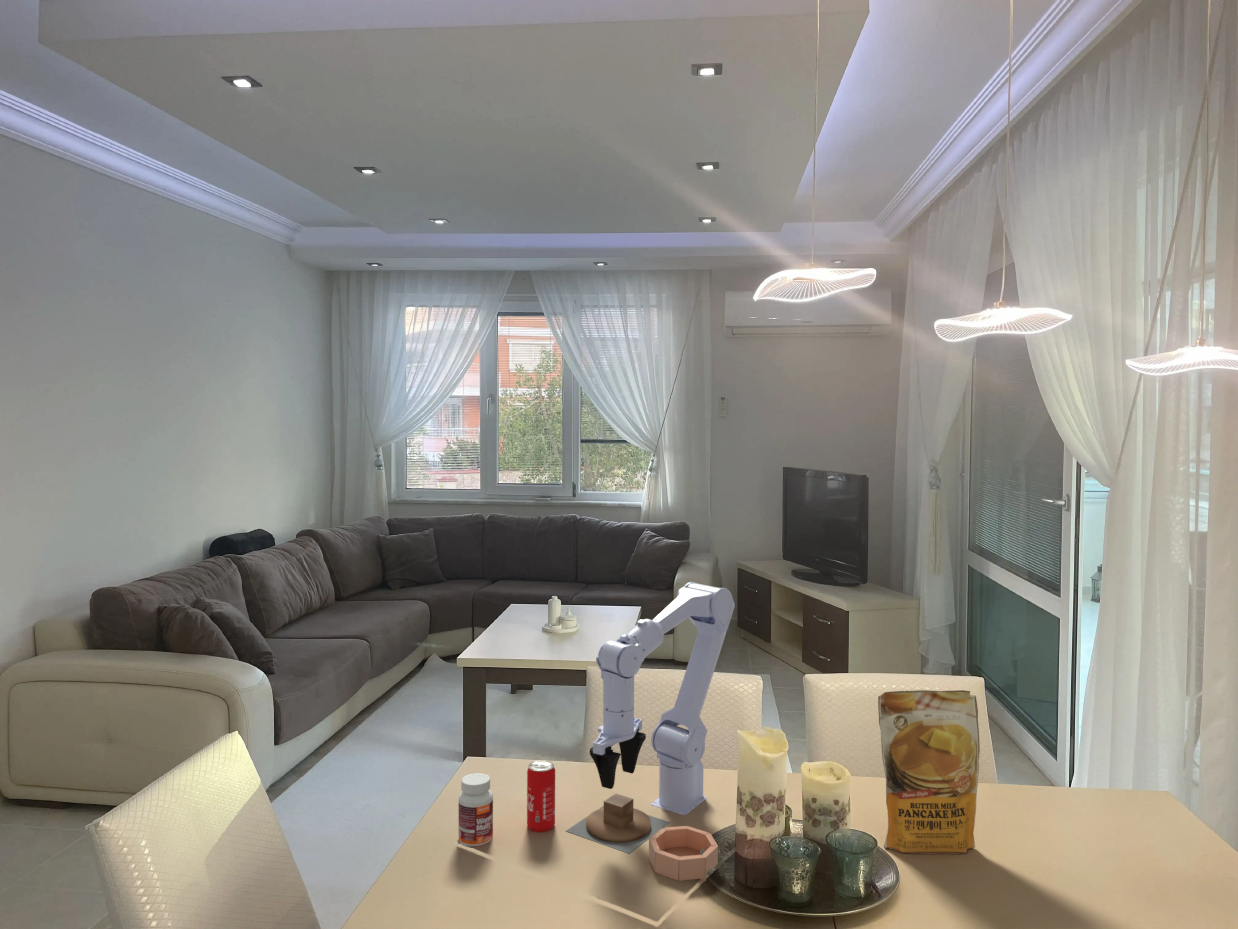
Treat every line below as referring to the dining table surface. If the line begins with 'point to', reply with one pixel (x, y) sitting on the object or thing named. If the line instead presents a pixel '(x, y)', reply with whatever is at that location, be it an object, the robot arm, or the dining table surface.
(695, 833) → the bowl
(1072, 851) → the dining table surface
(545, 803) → the beverage can
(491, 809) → the pill bottle
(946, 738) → the pancake mix bag
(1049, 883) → the dining table surface
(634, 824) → the brown disc
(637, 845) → the mat
